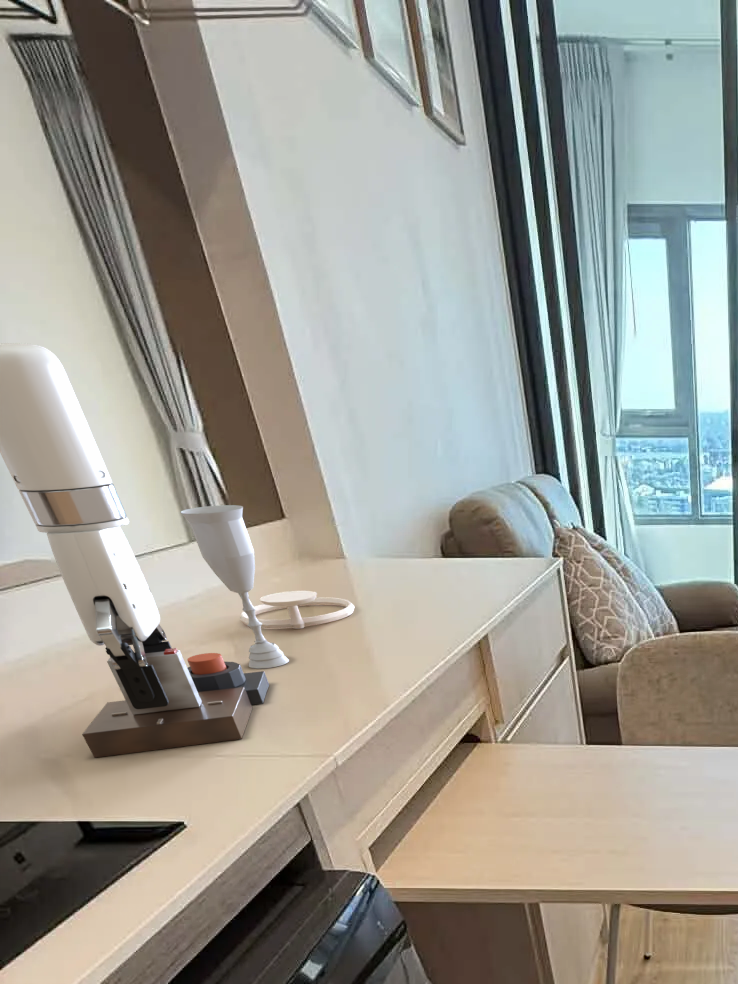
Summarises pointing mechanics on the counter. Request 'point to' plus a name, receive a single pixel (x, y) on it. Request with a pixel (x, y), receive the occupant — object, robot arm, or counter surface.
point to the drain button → (206, 663)
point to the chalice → (233, 567)
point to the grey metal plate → (167, 681)
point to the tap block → (169, 724)
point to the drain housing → (234, 681)
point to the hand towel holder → (292, 602)
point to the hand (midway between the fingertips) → (160, 693)
